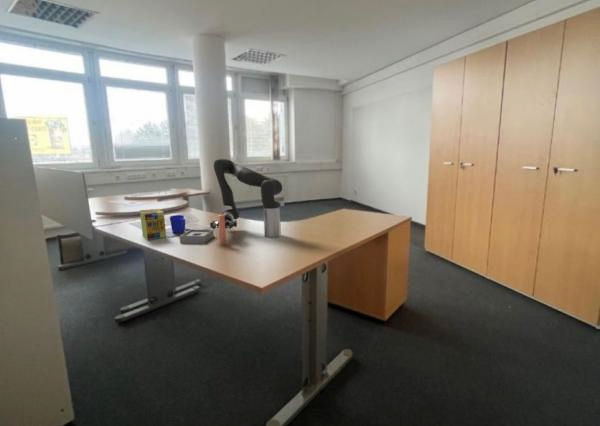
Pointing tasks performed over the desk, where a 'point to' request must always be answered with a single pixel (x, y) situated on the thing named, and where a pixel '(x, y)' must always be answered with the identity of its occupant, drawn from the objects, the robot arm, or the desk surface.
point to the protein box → (153, 224)
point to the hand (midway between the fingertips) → (221, 227)
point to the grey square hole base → (196, 236)
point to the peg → (222, 229)
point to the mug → (177, 223)
